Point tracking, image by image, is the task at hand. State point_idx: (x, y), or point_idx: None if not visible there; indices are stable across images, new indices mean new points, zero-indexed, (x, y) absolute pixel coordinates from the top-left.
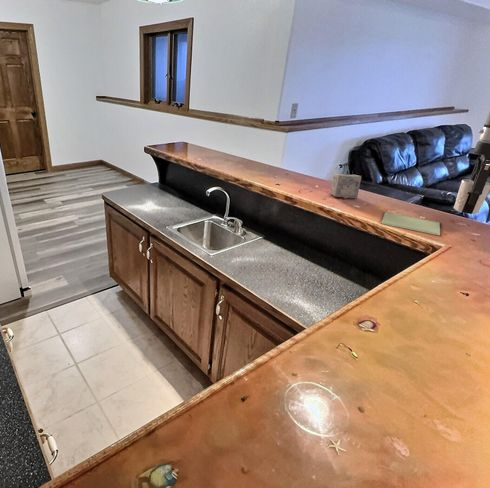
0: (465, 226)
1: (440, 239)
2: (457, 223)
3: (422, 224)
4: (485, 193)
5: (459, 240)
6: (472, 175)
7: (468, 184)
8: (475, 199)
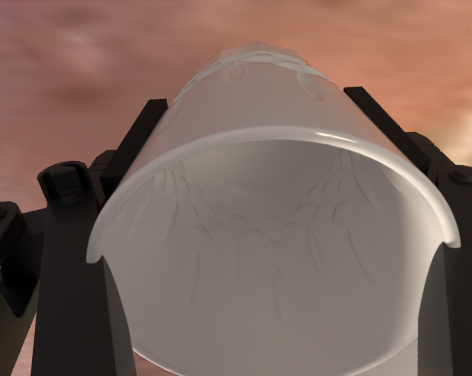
0: (109, 31)
1: (409, 131)
2: (91, 72)
3: None
4: (364, 115)
5: (377, 55)
6: (6, 368)
7: (393, 337)
8: (445, 161)
